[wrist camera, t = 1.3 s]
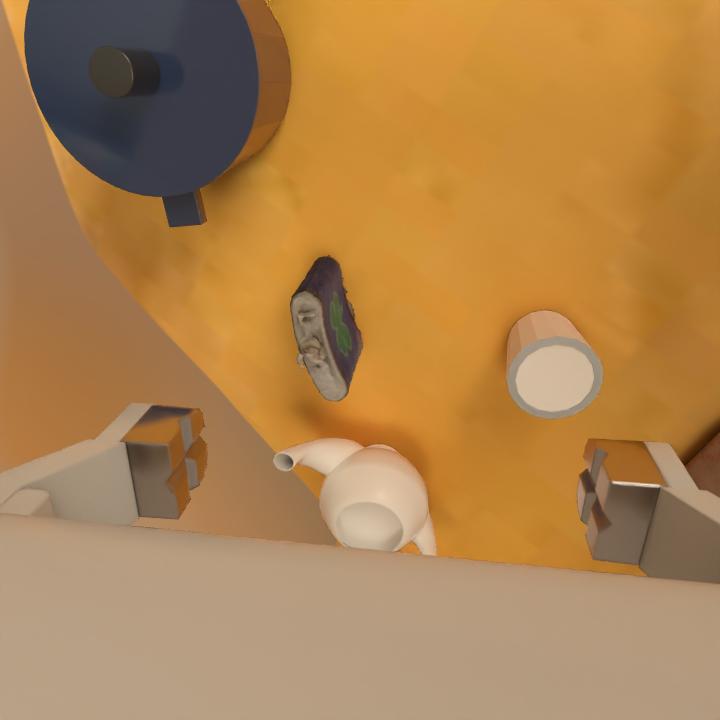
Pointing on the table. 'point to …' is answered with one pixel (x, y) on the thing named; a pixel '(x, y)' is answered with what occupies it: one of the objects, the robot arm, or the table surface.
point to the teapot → (367, 494)
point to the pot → (271, 106)
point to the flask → (326, 329)
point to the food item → (707, 467)
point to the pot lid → (146, 87)
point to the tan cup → (551, 366)
